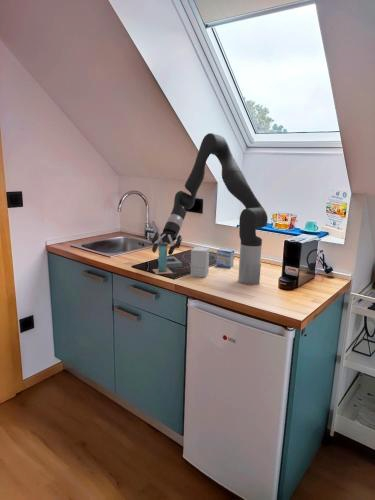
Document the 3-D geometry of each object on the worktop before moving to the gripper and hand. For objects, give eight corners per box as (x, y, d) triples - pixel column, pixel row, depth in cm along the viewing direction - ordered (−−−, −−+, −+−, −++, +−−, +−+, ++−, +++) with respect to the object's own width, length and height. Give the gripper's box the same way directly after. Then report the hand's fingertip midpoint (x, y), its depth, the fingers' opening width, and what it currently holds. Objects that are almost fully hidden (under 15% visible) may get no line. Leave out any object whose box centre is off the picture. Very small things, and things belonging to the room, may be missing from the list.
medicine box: (215, 266, 194) (216, 249, 192) (219, 264, 198) (220, 248, 196) (230, 268, 190) (231, 251, 188) (233, 266, 194) (234, 250, 192)
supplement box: (208, 273, 181) (209, 247, 178) (205, 277, 174) (206, 251, 171) (193, 271, 183) (194, 246, 180) (189, 276, 176) (190, 249, 173)
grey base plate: (182, 267, 189) (182, 263, 188) (164, 269, 186) (164, 264, 185) (173, 260, 202) (174, 256, 201) (157, 261, 199) (157, 257, 198)
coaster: (172, 274, 178) (172, 272, 178) (156, 275, 176) (156, 273, 175) (168, 269, 185) (168, 268, 185) (152, 270, 183) (152, 269, 183)
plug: (168, 272, 179) (169, 243, 176) (159, 272, 178) (159, 243, 174) (165, 269, 183) (166, 241, 180) (156, 269, 182) (157, 241, 179)
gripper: (158, 219, 185) (145, 246, 177) (184, 222, 179) (172, 250, 171) (163, 228, 191) (151, 255, 183) (188, 231, 184) (177, 259, 177)
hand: (161, 252), depth 177 cm, fingers open, 8 cm apart
